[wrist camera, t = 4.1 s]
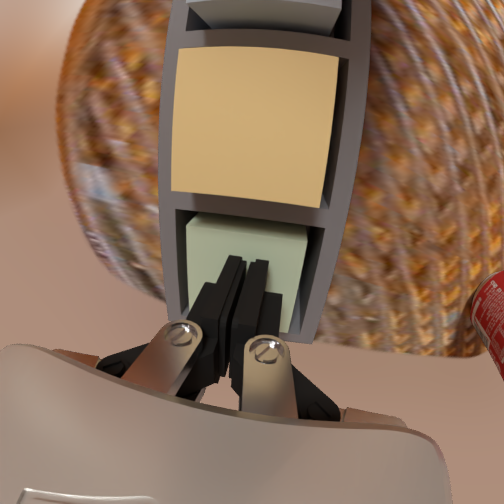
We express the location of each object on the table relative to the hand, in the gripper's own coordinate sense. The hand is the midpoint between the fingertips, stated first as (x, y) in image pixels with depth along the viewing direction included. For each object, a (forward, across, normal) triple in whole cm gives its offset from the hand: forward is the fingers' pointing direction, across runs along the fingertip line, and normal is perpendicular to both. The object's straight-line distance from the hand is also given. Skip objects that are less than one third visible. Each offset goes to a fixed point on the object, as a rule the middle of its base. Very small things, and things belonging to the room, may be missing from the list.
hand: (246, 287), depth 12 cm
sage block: (+6, 0, 0) cm, 6 cm away
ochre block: (+4, 0, -7) cm, 8 cm away
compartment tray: (+7, 0, -7) cm, 10 cm away
